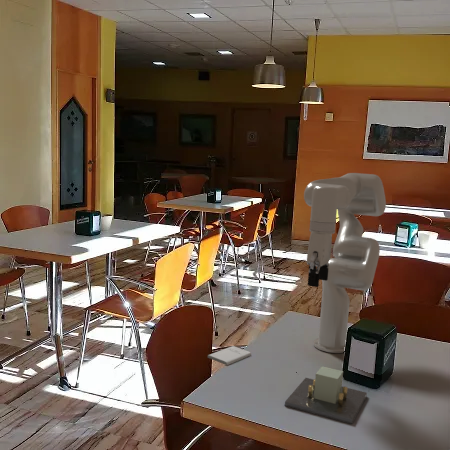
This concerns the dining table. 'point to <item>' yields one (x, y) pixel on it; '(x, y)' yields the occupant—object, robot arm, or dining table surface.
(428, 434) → the dining table surface
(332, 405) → the plate
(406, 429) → the dining table surface
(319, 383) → the beige block
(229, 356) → the external hard drive
